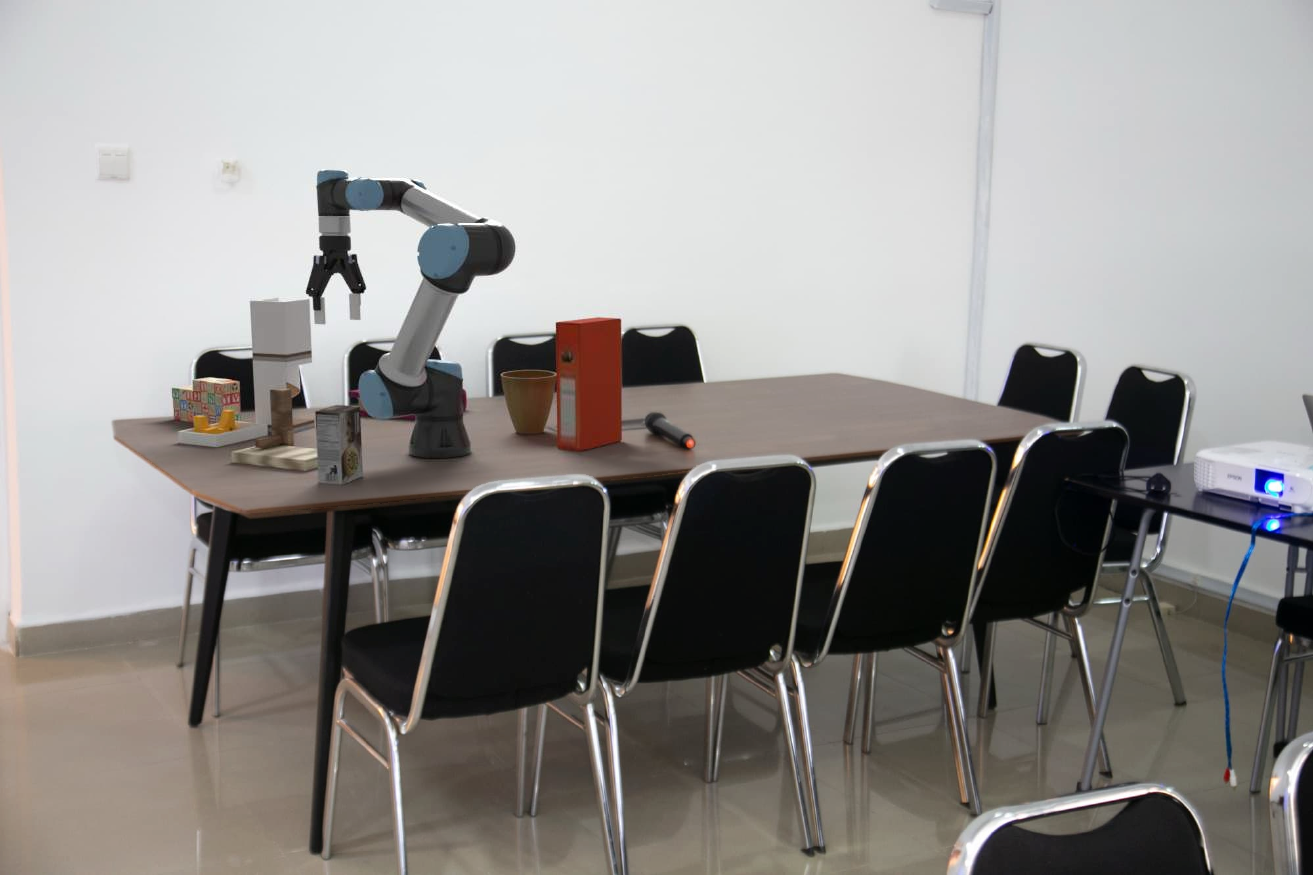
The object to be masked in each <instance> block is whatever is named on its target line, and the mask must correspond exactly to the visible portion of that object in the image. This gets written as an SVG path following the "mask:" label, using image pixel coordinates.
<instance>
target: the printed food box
mask: <svg viewBox="0 0 1313 875" xmlns="http://www.w3.org/2000/svg"><path fill="white" fill-rule="evenodd" d="M314 413H315V414H314V415H315V432H316V433H315V435H316V437H315V439H316V449H317V462H318V468H317V480H318V481H317V482H318V484H319V483H320V484H329V485H341V486H342V485H343V486H344V485H345V484H347V483H350V482H351V481H352V482H353V481H354V480H357V479H359V478H362V477H363V476H364V473H363V472H364V471H363V468H364V466H363V446H362V423H361V422H362V421H361V420H362V419H361V415H360V407H358V406H352V405H343V404H335V405H331V406H329V407H326V408H322V409H319V410H315V412H314Z"/></svg>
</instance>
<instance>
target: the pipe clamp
mask: <svg viewBox="0 0 1313 875" xmlns="http://www.w3.org/2000/svg"><path fill="white" fill-rule="evenodd" d="M193 419H194V423H193V428H194V432H195V433H205V434H214V435H217V434H221V433H226V432H230V431H235V411H234V410H223V411H222V415H221V419H220V421H219V423H218V424H217V425H216V426H215V427H214V428H212V427H211V426H210V425H209V423H208V421H207V416H201V415H198V416H193Z"/></svg>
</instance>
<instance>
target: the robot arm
mask: <svg viewBox="0 0 1313 875" xmlns="http://www.w3.org/2000/svg"><path fill="white" fill-rule="evenodd" d="M316 197H317V198H316V199H317V215H318V232H319V234H321V235H319V237H318V245H319V246H318V248H319V250H320V251H321V252H322V255H321V254H320V255H313V257H312V259H313V262H312V263H313V265H312V268H311V271H310V274H309V275H310V276H309V278H308V279H309V280H308V282H307V287H306V290H305V294H306V295H308V297H310V298H312V310H313V317H314V324H315V325H326V323H327V322H326V304H325V303H326V302H325V301H326V300H325V296H324V297H323V294H324V293H325V290H326V288H327V286H328V284H329V283H330V282H329V281H331V278H332V276H334V275H335V274H340V276H342V278H343V280H344V282H345V284H346V286H347V287H348V289H349V290H350V292H351V293H348V298H349V299H348V300H349V303H348V304H349V320H352V321H360V320H361V319H362V318H361V305H362V301H361V299H362V298H361V294H365V291H366V290H367V286H366V283H365V280H364V277H363V274H362V271H361V268H360V265H359V262H358V256H357V255H358V254H357V253H349V252H350V251H351V250H352V238H351V236H350V235H349V234H350V233H351V232H352V228H351V212H350V211H361V212H365V211H366V212H369V211H395V212H400V213H402V214H403V215H406V216H408V217H409V218H411V219H414V220H415V221H417V222H419V223H421V224H423V225H424V226H426V227H427V228H428V229H426V230H425V231H424V232H423V234H422V236H421V237H420V239H419V242H418V245H417V253H418V256H416V257H417V258H416V259H417V263H418V266H419V268H420V269H419V271H420V274H421V276H422V280H421V283H420V285H419V287H418V288H417V291H416V293H415V296H414V298H413V301H412V302H411V305H410V307H409V310H408V312H407V314H406V316H405V318H404V321H403V323H402V324H401V328H400V329H399V332H398V334H397V336H396V338H395V341H394V343H393V345H392V348H391V350H390V352H388V353H384V354H383V355H381V357H380V358H379V361H378V363H377V365H376V367H375V369H373V370H372V369H369V370H366V371H364V372H362V373H361V375H360V377H359V381H358V389H359V395H360V399H361V402H362V405H363V407H364V409H365V410H366V412H367V413H368V414H369V415H370V416H371V418H374V419H377V420H381V419H383V420H384V419H385V420H386V419H387V420H390V419H396V418H395V417H401V416H408V415H414V414H415V419H414V420H415V421H414V422H415V423H414V426H413V429H412V433H411V437H410V439H409V443H408V455H410V456H413V457H418V458H424V459H425V458H426V459H428V458H429V459H449V458H456V457H461V456H467V455H470V453H471V452H472V449H471V448H472V444H471V440H470V438H469V434H468V432H467V428H466V425H465V423H464V411H463V389H464V385H463V381H464V378H463V369H462V365H461V364H460V363H458V362H456V361H451V360H450V361H449V360H444V359H443V360H442V359H429V358H430V357H431V354H432V353H433V351H434V349H435V346H436V344H437V342H438V339H440V338H439V337H440V335H441V333H442V331H443V329H444V326H445V325H446V323H447V320H448V319H449V317H450V314H451V313H452V310H453V308H454V306H455V304H456V301H457V299H458V297H459V295H463V294H465V293H467V292H468V291H469V289H470V288H471V286H472V284H473V282H474V280H475V278H476V277H488V276H494V275H498V274H500V273H502V272H504V271H505V270H507V269H508V267H509V266H511V264H512V262H513V261H514V258H515V255H516V248H517V247H516V241H515V239H514V236H513V234H512V232H511V231H510V230H509V229H508V228H507V227H506V226H504V225H503V224H501V223H500V222H498V221H496V220H493V219H492V218H490V217H478V216H477V215H474V214H473V213H471V212H469V211H467V210H464V209H462V208H461V207H458V206H457V205H456V204H453V203H451V202H449V201H448V200H445V199H443V198H441V197H440V196H437V195H435V194H433V193H432V192H430V191H428V190H427V187H426V186H425V183H423V182H422V181H421V180H418V179H413V178H376V177H375V178H371V177H353V178H351V177H349V172H348V171H347V170H343V169H321V170H319V171H317V173H316Z"/></svg>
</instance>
